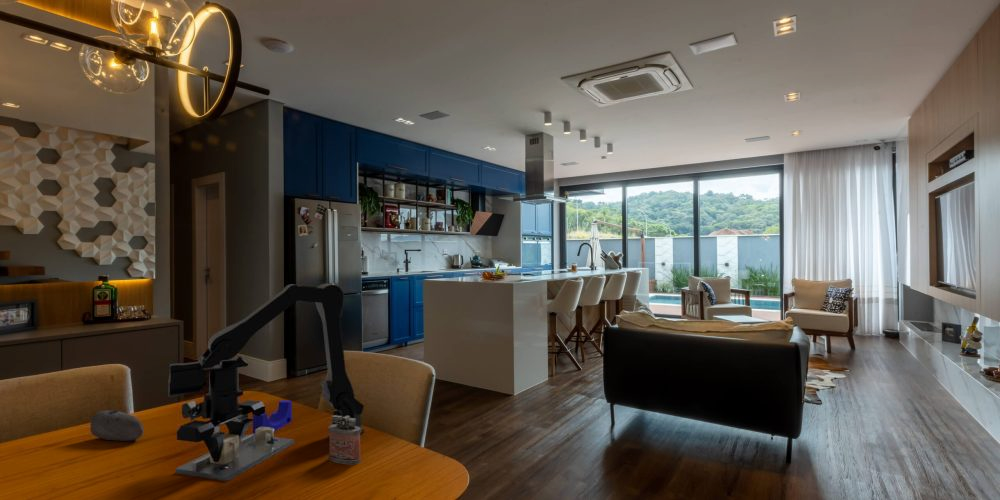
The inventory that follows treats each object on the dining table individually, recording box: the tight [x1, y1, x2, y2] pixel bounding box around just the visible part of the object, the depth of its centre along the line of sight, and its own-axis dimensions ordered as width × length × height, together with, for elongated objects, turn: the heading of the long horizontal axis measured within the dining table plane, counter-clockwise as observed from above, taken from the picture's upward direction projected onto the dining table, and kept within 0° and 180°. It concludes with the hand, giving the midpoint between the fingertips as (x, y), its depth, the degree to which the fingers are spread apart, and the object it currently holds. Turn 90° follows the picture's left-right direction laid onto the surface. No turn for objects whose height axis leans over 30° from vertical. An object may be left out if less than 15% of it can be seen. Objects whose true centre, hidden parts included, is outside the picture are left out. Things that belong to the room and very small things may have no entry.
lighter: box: [328, 414, 362, 465], centre depth 107 cm, size 8×3×10 cm, turn 71°
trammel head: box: [210, 433, 239, 465], centre depth 105 cm, size 5×4×5 cm
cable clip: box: [252, 399, 293, 434], centre depth 127 cm, size 12×4×6 cm, turn 170°
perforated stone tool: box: [89, 409, 145, 442], centre depth 121 cm, size 15×5×7 cm, turn 74°
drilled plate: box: [175, 427, 295, 482], centre depth 109 cm, size 14×20×4 cm
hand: (224, 457), depth 105 cm, fingers closed on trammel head, 4 cm apart
